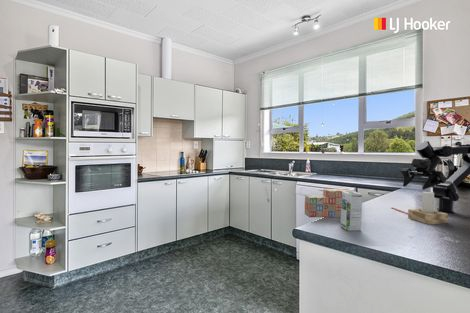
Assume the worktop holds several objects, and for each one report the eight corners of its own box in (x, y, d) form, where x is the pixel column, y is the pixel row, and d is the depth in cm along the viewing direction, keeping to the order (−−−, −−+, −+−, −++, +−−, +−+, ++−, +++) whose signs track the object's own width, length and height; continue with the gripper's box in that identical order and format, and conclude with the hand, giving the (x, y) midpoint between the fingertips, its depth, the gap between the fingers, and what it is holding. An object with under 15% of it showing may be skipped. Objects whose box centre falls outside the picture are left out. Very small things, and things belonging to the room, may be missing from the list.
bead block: (424, 216, 121) (425, 208, 121) (447, 222, 111) (447, 213, 111) (408, 218, 118) (408, 209, 118) (429, 224, 109) (429, 215, 108)
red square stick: (391, 208, 137) (391, 207, 137) (392, 208, 137) (393, 207, 137) (409, 215, 123) (409, 214, 123) (411, 215, 123) (411, 214, 123)
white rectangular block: (423, 218, 117) (424, 191, 117) (433, 220, 114) (434, 192, 114) (421, 220, 115) (422, 192, 114) (430, 222, 112) (431, 193, 112)
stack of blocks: (309, 218, 117) (309, 191, 117) (304, 214, 123) (304, 188, 123) (353, 217, 119) (354, 190, 119) (346, 213, 125) (347, 188, 125)
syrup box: (339, 226, 104) (340, 190, 104) (353, 226, 105) (354, 190, 104) (347, 231, 99) (348, 193, 98) (361, 230, 99) (363, 193, 99)
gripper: (403, 152, 135) (387, 173, 131) (443, 153, 117) (426, 178, 114) (413, 167, 138) (397, 188, 134) (453, 170, 120) (436, 195, 117)
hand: (413, 187), depth 124 cm, fingers open, 9 cm apart
